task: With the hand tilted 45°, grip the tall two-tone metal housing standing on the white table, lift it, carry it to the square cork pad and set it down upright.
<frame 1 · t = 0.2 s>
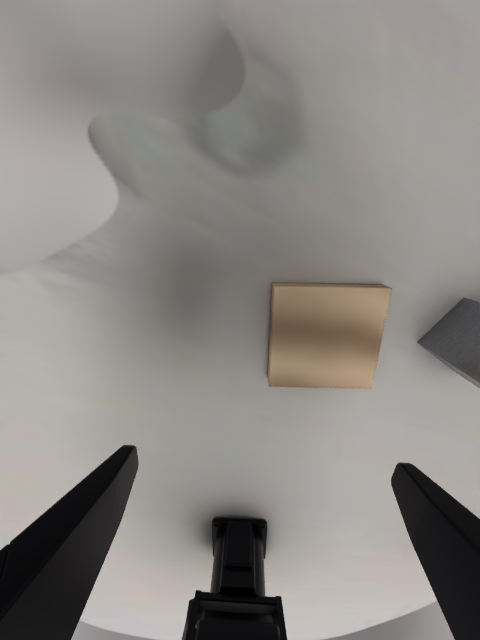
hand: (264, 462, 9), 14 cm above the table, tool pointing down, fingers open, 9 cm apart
housing: (459, 336, 22), on the table
cork pad: (320, 334, 22), on the table
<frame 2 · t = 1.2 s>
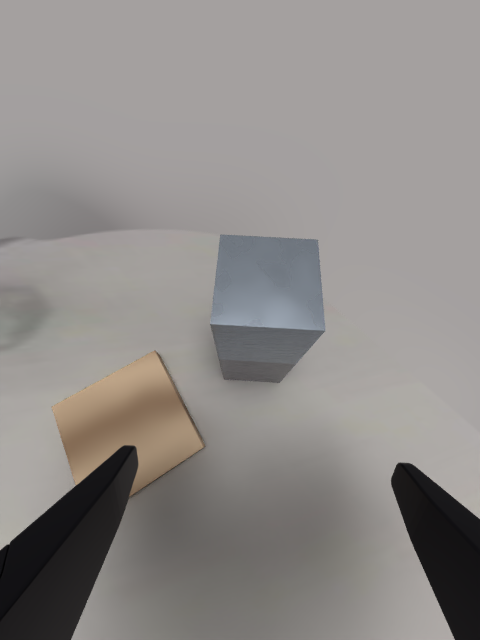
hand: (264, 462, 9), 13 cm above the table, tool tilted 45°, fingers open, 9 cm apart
housing: (252, 354, 24), on the table
cork pad: (132, 426, 21), on the table
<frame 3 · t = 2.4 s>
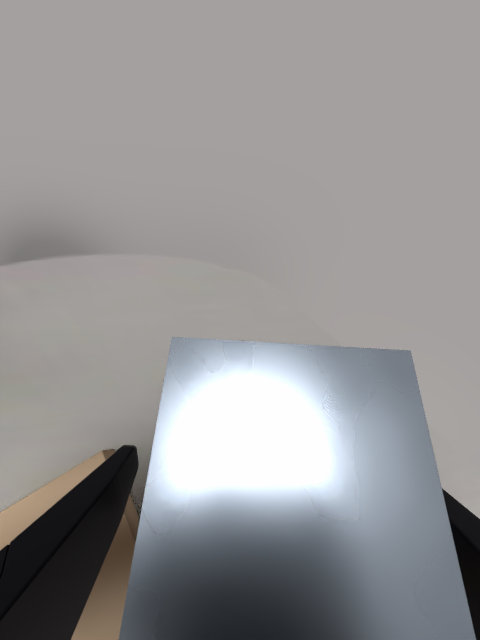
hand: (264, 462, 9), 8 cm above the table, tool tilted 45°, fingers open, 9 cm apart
housing: (252, 446, 16), on the table
cork pad: (62, 580, 13), on the table
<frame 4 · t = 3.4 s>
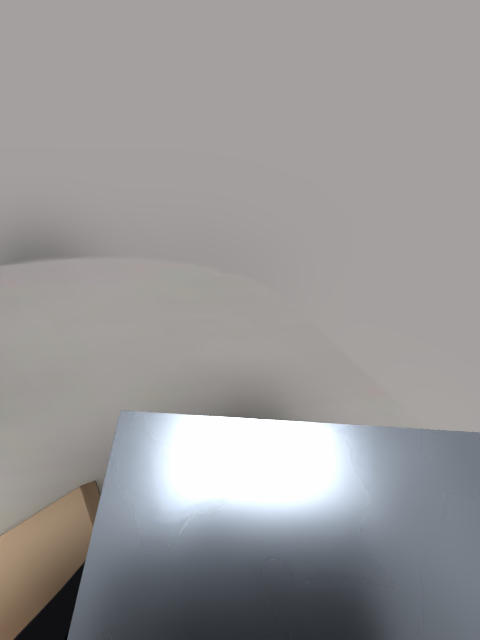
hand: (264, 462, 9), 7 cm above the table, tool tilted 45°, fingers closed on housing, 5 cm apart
housing: (252, 477, 14), on the table, touching gripper
cork pad: (32, 639, 12), on the table
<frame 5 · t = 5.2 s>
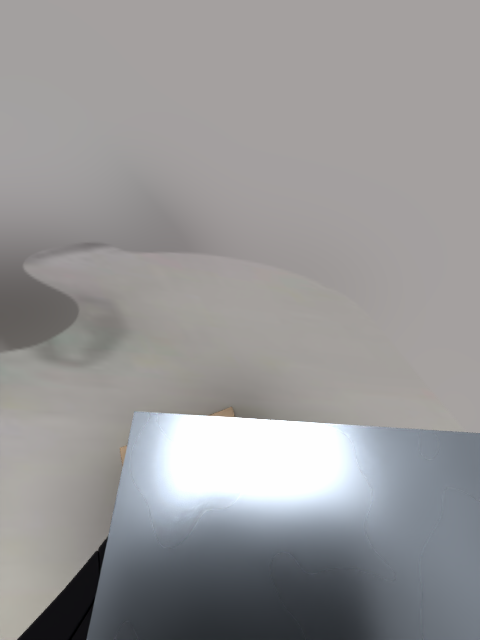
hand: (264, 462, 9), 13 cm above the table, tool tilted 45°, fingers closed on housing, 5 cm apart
housing: (252, 475, 14), point 6 cm above the table, touching gripper
when the fingers open (9 cm above the table, at t = 6.8 s): housing stays where it is, resting on cork pad.
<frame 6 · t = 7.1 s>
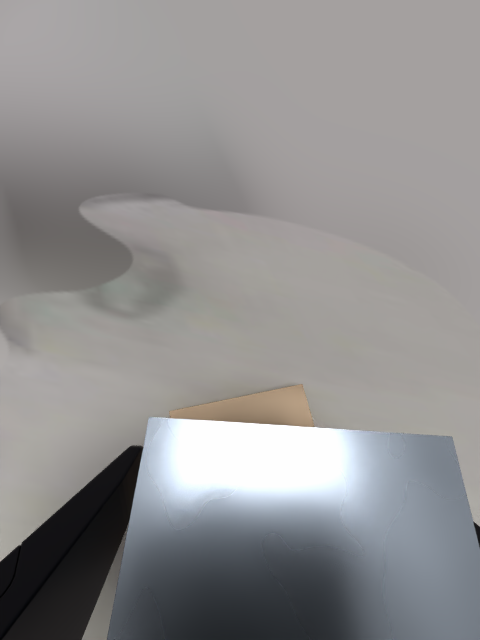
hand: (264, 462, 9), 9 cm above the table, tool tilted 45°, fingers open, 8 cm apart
housing: (251, 474, 15), point 1 cm above the table, touching cork pad
cork pad: (250, 470, 17), on the table
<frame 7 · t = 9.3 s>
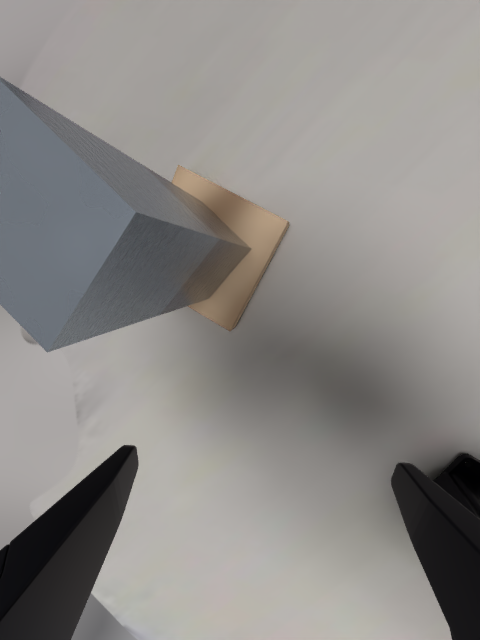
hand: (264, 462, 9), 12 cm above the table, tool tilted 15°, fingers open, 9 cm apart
housing: (205, 251, 19), point 1 cm above the table, touching cork pad
cork pad: (212, 252, 21), on the table
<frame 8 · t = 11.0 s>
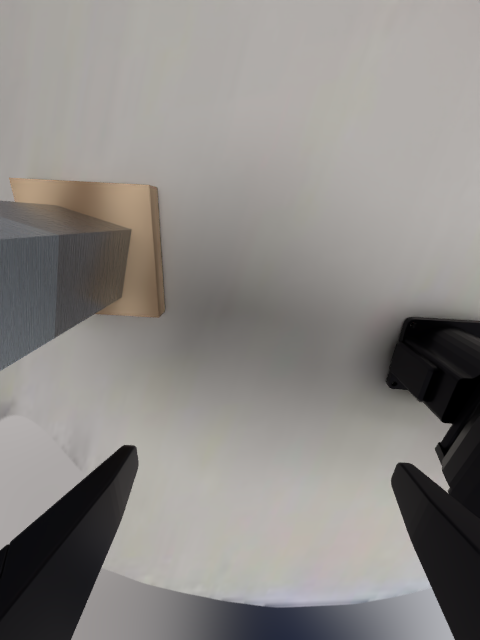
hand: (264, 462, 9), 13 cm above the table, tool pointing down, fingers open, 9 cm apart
housing: (91, 254, 18), point 1 cm above the table, touching cork pad
cork pad: (102, 251, 19), on the table
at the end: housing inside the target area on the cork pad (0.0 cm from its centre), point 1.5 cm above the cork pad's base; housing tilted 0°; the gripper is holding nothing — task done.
